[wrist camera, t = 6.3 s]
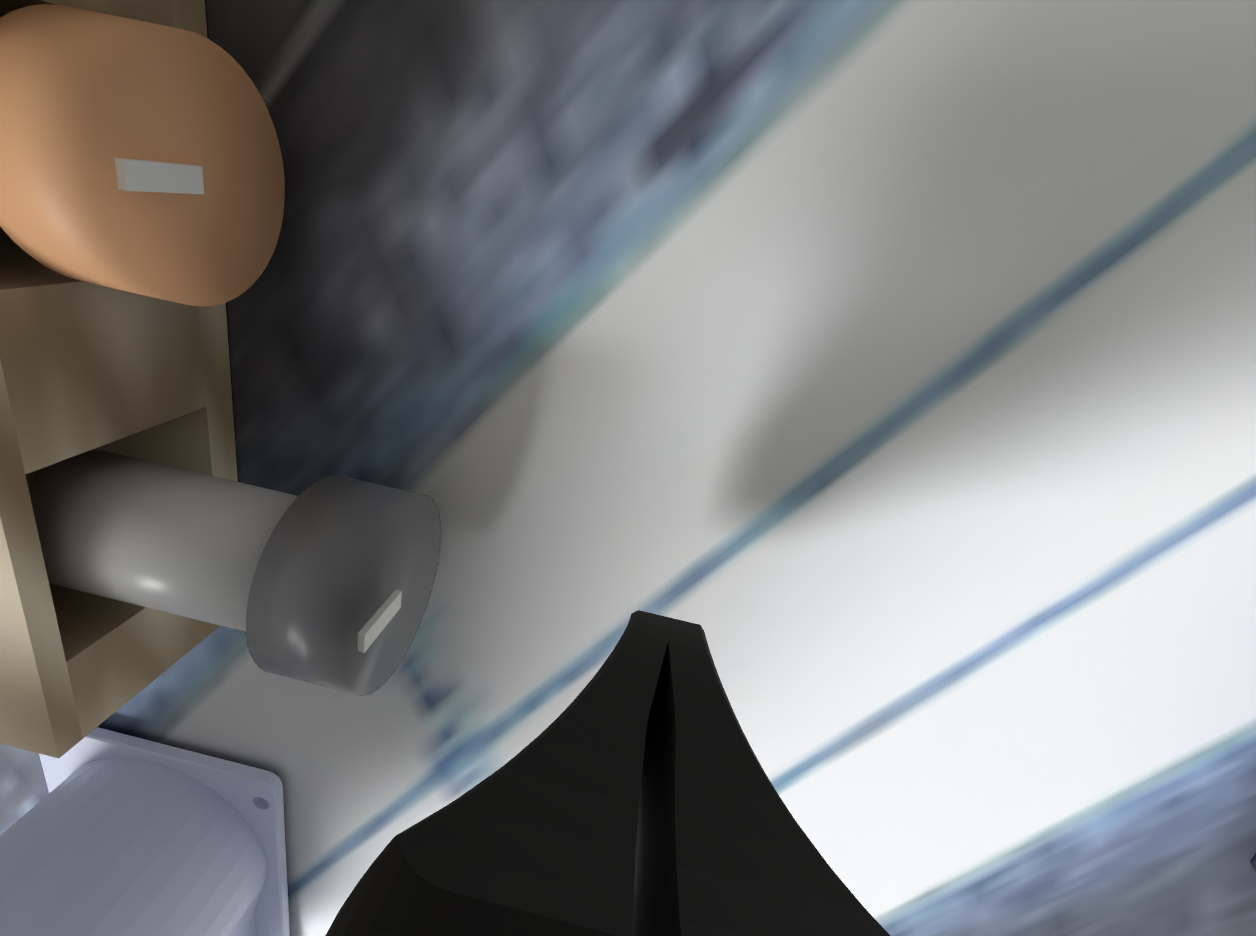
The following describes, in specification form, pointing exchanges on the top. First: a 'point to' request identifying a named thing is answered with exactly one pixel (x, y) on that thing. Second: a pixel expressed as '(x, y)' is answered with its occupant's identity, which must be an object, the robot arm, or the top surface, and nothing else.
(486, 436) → the top surface
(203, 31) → the mount
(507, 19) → the top surface
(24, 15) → the orange knob
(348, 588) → the charcoal knob
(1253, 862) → the small box
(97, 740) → the robot arm
